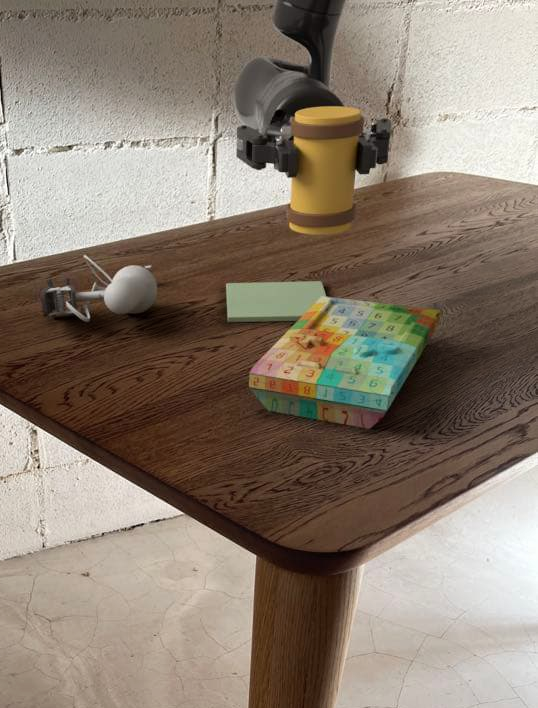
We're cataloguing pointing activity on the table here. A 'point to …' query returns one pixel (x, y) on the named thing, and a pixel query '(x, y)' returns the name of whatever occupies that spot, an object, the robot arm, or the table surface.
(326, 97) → the robot arm
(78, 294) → the clip-on lamp
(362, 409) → the puzzle game
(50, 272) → the table surface
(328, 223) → the stacking piece
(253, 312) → the green mat
